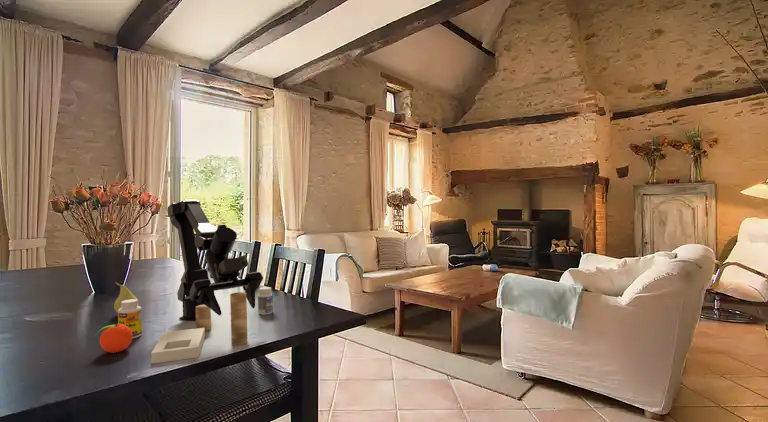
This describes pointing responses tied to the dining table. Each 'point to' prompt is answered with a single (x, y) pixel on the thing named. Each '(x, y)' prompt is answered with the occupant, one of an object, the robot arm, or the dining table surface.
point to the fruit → (123, 297)
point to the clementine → (115, 338)
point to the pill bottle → (265, 301)
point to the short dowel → (203, 317)
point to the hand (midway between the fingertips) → (237, 310)
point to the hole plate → (178, 345)
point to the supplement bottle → (131, 316)
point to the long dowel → (238, 318)
